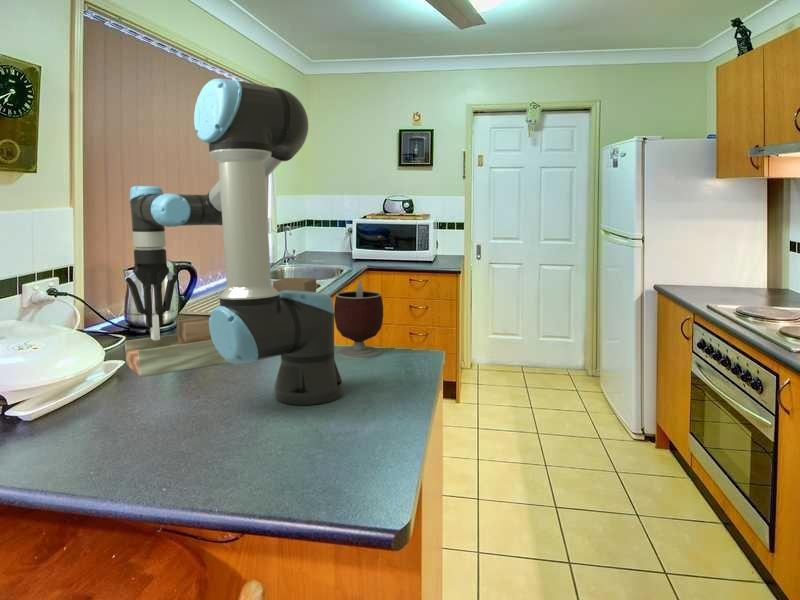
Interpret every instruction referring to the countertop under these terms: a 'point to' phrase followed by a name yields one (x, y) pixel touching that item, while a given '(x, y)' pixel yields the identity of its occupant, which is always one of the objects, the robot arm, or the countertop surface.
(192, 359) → the channel runway
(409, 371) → the countertop surface
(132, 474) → the countertop surface
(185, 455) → the countertop surface
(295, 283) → the wooden block
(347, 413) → the countertop surface
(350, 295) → the mate gourd
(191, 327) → the walnut block
